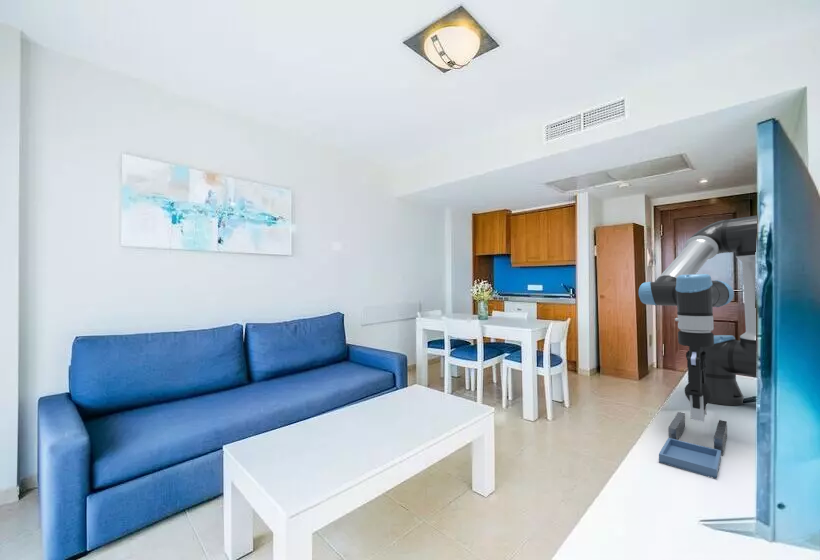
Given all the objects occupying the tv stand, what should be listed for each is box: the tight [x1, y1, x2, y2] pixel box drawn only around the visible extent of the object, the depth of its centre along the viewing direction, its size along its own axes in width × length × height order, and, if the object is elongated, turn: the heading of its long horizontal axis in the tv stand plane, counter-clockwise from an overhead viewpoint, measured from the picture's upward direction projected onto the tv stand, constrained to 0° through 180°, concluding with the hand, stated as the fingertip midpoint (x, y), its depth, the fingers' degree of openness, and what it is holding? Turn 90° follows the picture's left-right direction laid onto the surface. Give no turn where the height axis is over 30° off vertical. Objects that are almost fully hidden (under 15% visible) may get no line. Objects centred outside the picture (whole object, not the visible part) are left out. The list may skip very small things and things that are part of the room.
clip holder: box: [667, 411, 728, 457], centre depth 93 cm, size 16×11×4 cm
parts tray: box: [658, 437, 722, 479], centre depth 82 cm, size 12×10×2 cm
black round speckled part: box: [684, 383, 711, 417], centre depth 94 cm, size 6×6×10 cm
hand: (698, 416), depth 94 cm, fingers closed on black round speckled part, 6 cm apart
